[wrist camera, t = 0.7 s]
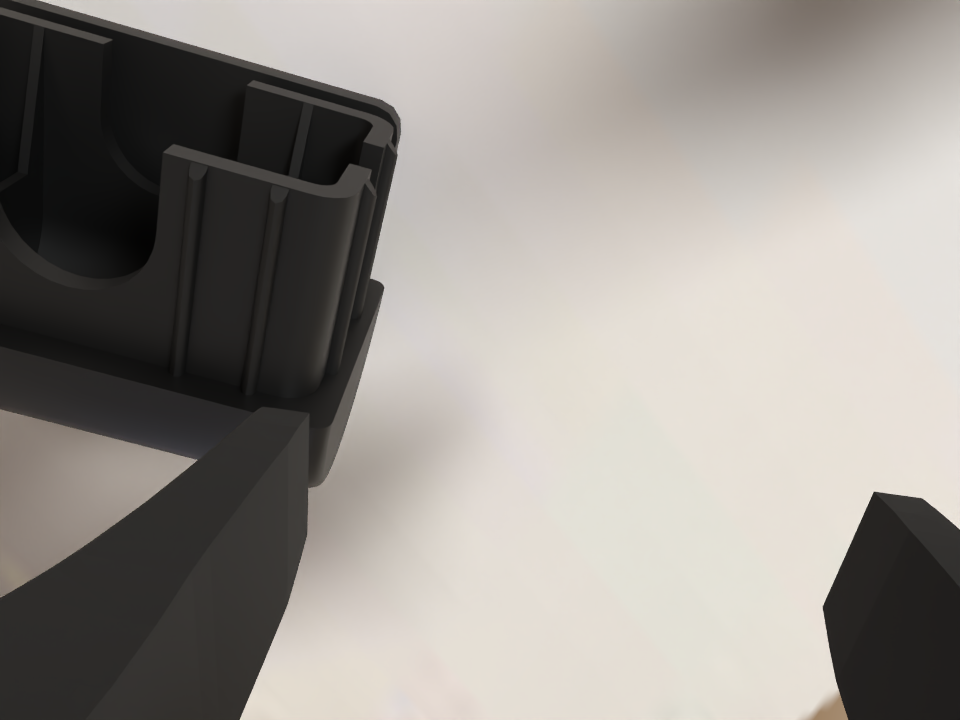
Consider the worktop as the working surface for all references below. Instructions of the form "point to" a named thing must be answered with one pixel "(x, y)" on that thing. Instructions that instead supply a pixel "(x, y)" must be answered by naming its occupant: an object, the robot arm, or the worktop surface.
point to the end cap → (181, 235)
